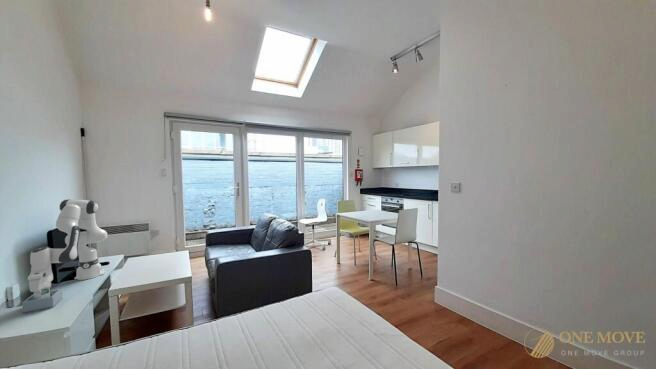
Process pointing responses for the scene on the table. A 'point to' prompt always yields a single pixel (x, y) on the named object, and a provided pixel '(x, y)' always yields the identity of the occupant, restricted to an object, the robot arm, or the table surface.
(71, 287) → the table surface
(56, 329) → the table surface
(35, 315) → the table surface
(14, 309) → the table surface
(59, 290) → the crate
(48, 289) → the syrup box
